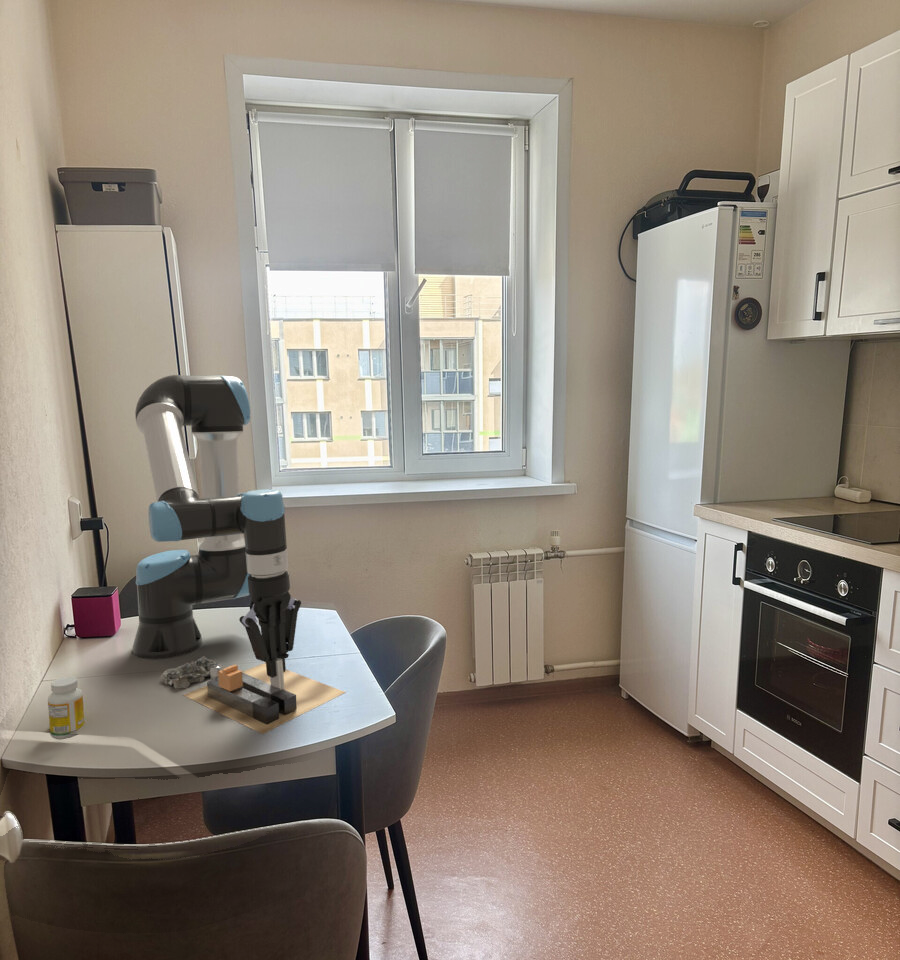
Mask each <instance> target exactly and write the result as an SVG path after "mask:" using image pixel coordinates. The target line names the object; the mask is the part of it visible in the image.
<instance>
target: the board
mask: <svg viewBox="0 0 900 960" xmlns="http://www.w3.org/2000/svg"><path fill="white" fill-rule="evenodd" d="M242 672H243V673H245V674H247V675H250V676H252V677H254V678H257V679H259V680H261V681H263V682H266V683H268V684H270V685H271V682H270V677H269V676H268V675H267V670H266V662H264V663H261V664H258V665H256V666H253V667H250V668H249V669H246V670H244V671H243V670H242ZM283 675H284V688H285V690H286V691H288V692H290V693H293V694H295V695H296V705H297V710H295V711H293V712H291V713H289V714H286V715H283V714H281V713H279V719H278V720H276V721H274V722H272V723H270V724H267V725H266V724H264V723H262V722H260V721H258V720H256V719H254V718H252V717H250V716H248V715H246V714H244V713H242V712H240V711H237V710H235V709H233V708H231V707H229V706H227V705H225V704H223V703H220V702H218V701H216V700H214V699H212V698H210V697H208V690H207V685H205V686H203V687H200V688H197V689H195V690H193V691H190V692H188V693H185V694H183V695H182V696H184V697H186V698H187V699H189V700H192V701H193V702H196V703H198V704H200V705H202V706H205V707H207V709H211V710H213V711H215V712H216V713H219V714H220V715H222V716H224V717H227V718H229V719H230V720H233V721H234V722H237V723H238V724H241V725H243V726H245V727H247V728H249V729H251V730H253V731H255V732H257V733H259V734H262V735H263V734H265V733H268V732H270V731H271V730H273V729H275V728H278V727H280V726H282V725H284V724H286V723H287V722H290V721H292V720H294V719H295V718H298V717H300V716H301V715H303V714H305V713H308V712H309V711H312V710H314V709H316V708H317V707H319V706H322V705H324V704H325V703H327V702H330V701H332V700H333V699H336V698H338V697H339V696H342V695H345V694H346V691H344V690H341V689H339V688H336V687H334V686H330V685H328V684H325V683H322V682H320V681H319V680H318V681H317V680H315V679H312V678H310V677H307V676H306V675H301V674H300V673H298V672H297V673H296V672H293V671H291V670H288V669H286V670H285V672H284V673H283Z"/></svg>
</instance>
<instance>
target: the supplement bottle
mask: <svg viewBox="0 0 900 960" xmlns="http://www.w3.org/2000/svg"><path fill="white" fill-rule="evenodd" d="M78 683H79V682H78V678H77V677H75V676H64V677H61V678H60V677H59V678H57V679H55V680H53V681H52V682H51V684H50V686H51V688H50V689H51V692H52V693H50V695H49V696H48V697H47V706H48V707H47V710H48V719H49V720H48V721H49V731H50V733H49V734H50V736H51V738H53V739H55V740H65V739H70V738H73V737H76V736H77V735H79V733H71V732H74V731H77V730H78V729H80V728H82V727H83V726H84V724H85V712H84V711H85V710H84V696H83V691H82V690H81V689H80V688H78V685H79V684H78Z"/></svg>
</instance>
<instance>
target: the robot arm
mask: <svg viewBox="0 0 900 960" xmlns="http://www.w3.org/2000/svg"><path fill="white" fill-rule="evenodd" d="M134 412H135V413H134V414H135V422H136V426H137V428H138V430H139V432H141V434H143V436H144V442H145V447H146V450H147V451H146V452H147V456H148V462H149V467H150V471H151V477H152V481H153V489H154V493H155V498H156V501H155V502H152V503H150V504H149V506H148V525H149V535H150V537H151V539H153V541H155V542H157V543H158V542H159V543H160V542H161V543H162V542H180V541H185V540H187V541H189V540H193V539H194V540H195V539H202V538H203V541H202V542H201V543H200V544H199V545H198V554H196V555H195V554H194V555H191V553H190V551H189V550H187V549H177V550H176V549H172V550H166V551H163V552H158V553H155V554H151V555H149V556H147V557H145V558H143V559H141V560H140V561H139V562H138V564H136V571H135V573H136V574H135V576H136V577H135V578H136V579H135V585H136V589H137V607H138V626H137V631H136V633H135V636H134V640H133V644H132V654H133V656H135V657H137V658H139V659H145V660H164V659H171V658H176V657H180V656H183V655H187V654H189V653H190V654H191V653H192V652H194V651H195V650H198V649H199V648H200V647H201V646H202V645H203V636H202V634H201V632H200V629H199V627H198V624H197V622H196V619H195V618H194V612H193V609H194V608H193V605H198V604H200V605H201V604H207V603H213V602H219V601H226V600H227V601H228V600H236V599H238V598H243V597H247V596H250V604H249V611H248V612H247V613H246V615H241V617H239V622H240V623H241V624H242V625H243V627H244V628H245V631H246V635H247V637H248V639H249V642H250V645H251V648H252V650H253V654H254V656H255V657H254V658H256V660H258V661H260V662H264V663H266V670H267V675H268V676H269V677H270V682H271V685H272V686H275V687H277V688H280V689H284V690H285V688H284V675H283V673H284V672H285V670H287V668H286V659H288V658H289V656H290V655H289V652H292V651H293V650H294V644H295V635H296V629H297V620H298V612H299V610H300V608H301V606H302V601H301V600H300V599H296V598H293V597H292V595H291V593H290V592H289V591H290V588H291V584H290V573H289V571H288V568H289V560H288V557H289V556H288V547H287V534H286V533H287V531H286V530H287V529H286V516H285V512H286V507H285V504H284V499H283V493H281V491H280V490H277V489H270V488H269V489H267V488H266V489H255V490H249V491H246V492H241V491H240V490H241V489H240V475H239V474H240V471H239V455H238V454H239V453H238V439H239V437H240V436H241V435H242V434H243V433H244V426H246V425H248V424H249V423H250V421H251V406H250V400H249V395H248V391H247V389H246V387H245V384H244V382H243V381H242V380H241V379H240V378H238V377H237V376H230V375H222V374H219V375H183V374H182V375H180V374H172V375H166V376H163V377H162V378H159V379H157V380H156V381H154V382H152V383H151V384H149V385H148V387H146V389H144V391H143V392H142V393H141V395H140V396H139V398H138V400H137V403H136V407H135V411H134ZM184 426H185V427H186V426H189V427H191V435H193V436H194V437H195V438H196V439H197V440H198V442H199V461H200V477H201V479H200V482H201V496H202V498H200V494H199V492H198V488H197V483H196V480H195V476H194V472H193V468H192V465H191V461H190V457H189V453H188V449H187V446H186V441H185V437H184V432H183V427H184ZM257 622H258V624H257ZM259 626H260V628H259Z"/></svg>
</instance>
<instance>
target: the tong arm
mask: <svg viewBox="0 0 900 960" xmlns="http://www.w3.org/2000/svg"><path fill="white" fill-rule="evenodd" d="M242 679H243V686H242V687H241V688H244V689H246V690H248V691H250V692H253V693H255V694H257V695H260V696H262V697H266V698H269V699H271V700H273V701H276V702H278V704H279V713H281V714H283V715H286V714H289V713H291V712H293V711H295V710H297V705H296V695H295V694H293V693H290V692H288V691H286V690H284V689H280V688H277V687H275V686H272V685H270V684H268V683H266V682H263V681H261V680H259V679H257V678H254V677H252V676H250V675H247V674H245V673H243V671H242Z"/></svg>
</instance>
